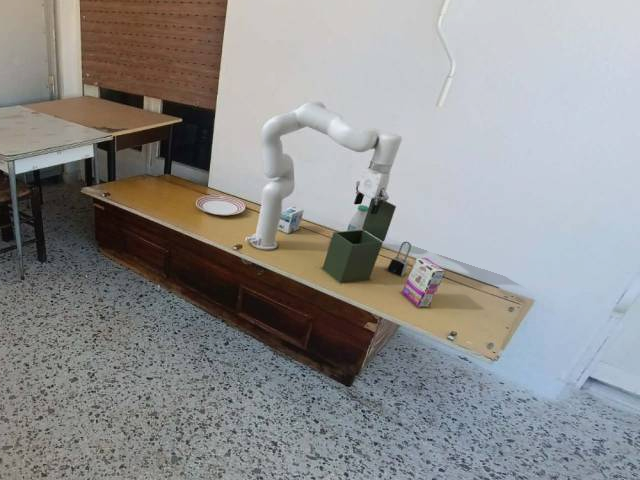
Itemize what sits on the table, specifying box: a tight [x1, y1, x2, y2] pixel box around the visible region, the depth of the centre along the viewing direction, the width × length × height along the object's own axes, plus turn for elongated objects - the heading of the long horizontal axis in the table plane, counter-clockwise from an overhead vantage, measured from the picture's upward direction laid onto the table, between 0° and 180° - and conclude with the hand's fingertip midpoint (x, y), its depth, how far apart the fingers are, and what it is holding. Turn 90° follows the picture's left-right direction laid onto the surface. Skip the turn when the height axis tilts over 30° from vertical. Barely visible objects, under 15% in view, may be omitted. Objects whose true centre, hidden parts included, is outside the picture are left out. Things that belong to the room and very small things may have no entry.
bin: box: [322, 230, 384, 284], centre depth 195 cm, size 15×13×18 cm
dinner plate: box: [195, 194, 246, 217], centre depth 257 cm, size 27×27×3 cm
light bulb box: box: [277, 205, 304, 234], centre depth 235 cm, size 11×7×11 cm, turn 129°
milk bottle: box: [346, 204, 369, 232], centre depth 220 cm, size 8×8×20 cm
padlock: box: [386, 241, 412, 277], centre depth 199 cm, size 7×4×15 cm, turn 37°
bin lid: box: [362, 198, 397, 243], centre depth 188 cm, size 15×13×1 cm
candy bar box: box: [401, 257, 446, 308], centre depth 180 cm, size 11×5×16 cm, turn 5°
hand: (365, 208), depth 184 cm, fingers open, 9 cm apart
